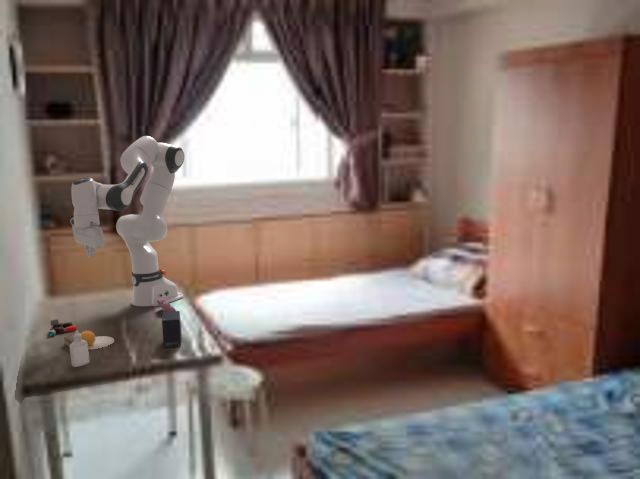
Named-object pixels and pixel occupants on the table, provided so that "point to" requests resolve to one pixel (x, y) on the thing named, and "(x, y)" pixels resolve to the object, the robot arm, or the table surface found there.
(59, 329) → the toy gun
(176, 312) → the small box
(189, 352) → the table surface
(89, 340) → the ball
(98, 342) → the white flat disc
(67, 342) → the rail
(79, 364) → the eye dropper bottle
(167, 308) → the video game controller
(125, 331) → the table surface
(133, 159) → the robot arm
